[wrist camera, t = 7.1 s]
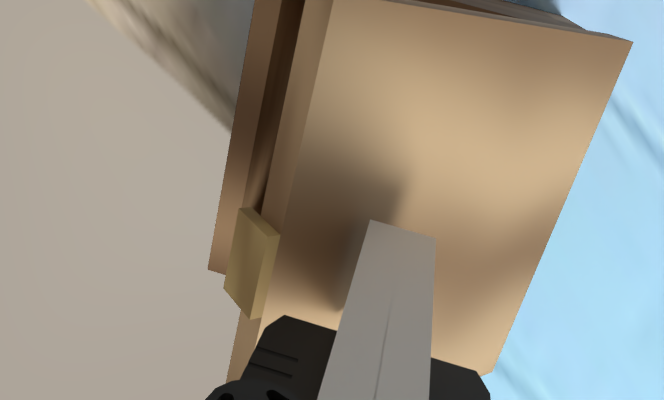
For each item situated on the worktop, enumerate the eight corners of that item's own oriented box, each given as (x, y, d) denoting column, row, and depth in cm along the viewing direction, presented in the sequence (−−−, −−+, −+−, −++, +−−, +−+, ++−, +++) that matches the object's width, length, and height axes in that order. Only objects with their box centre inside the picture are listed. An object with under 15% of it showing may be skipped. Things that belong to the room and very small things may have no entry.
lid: (283, -26, 11) (321, -10, 10) (594, 30, 17) (633, 42, 17) (193, 443, 16) (215, 479, 15) (466, 350, 22) (492, 371, 21)
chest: (307, -51, 24) (257, -51, 18) (562, 15, 24) (603, 40, 17) (257, 197, 29) (202, 267, 23) (470, 259, 28) (476, 350, 22)
